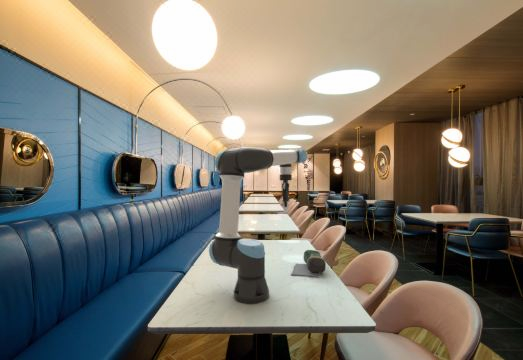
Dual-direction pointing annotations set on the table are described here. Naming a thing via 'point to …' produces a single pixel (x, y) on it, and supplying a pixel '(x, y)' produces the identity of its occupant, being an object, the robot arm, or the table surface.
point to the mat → (303, 271)
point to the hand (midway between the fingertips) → (285, 211)
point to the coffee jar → (314, 261)
